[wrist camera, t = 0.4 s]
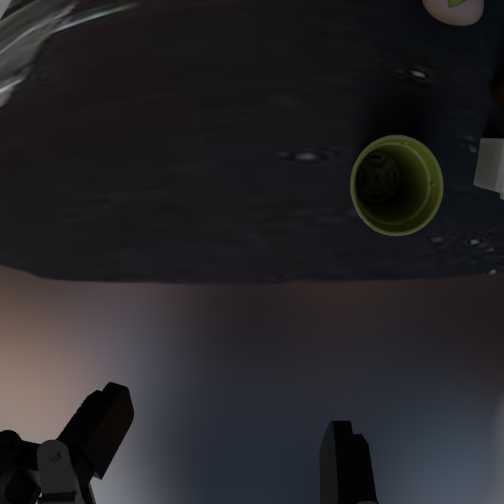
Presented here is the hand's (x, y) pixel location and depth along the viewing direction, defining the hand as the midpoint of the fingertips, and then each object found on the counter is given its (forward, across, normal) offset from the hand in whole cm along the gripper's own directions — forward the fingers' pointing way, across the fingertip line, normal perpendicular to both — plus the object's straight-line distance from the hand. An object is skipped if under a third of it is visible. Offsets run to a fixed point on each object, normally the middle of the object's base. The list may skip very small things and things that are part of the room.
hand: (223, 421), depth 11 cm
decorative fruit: (+29, -20, -33) cm, 48 cm away
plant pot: (+28, -12, -8) cm, 32 cm away
